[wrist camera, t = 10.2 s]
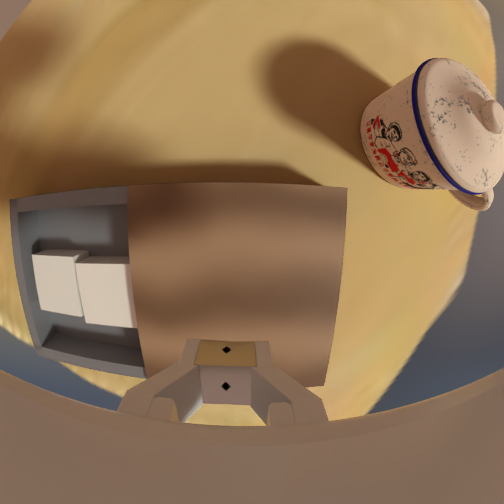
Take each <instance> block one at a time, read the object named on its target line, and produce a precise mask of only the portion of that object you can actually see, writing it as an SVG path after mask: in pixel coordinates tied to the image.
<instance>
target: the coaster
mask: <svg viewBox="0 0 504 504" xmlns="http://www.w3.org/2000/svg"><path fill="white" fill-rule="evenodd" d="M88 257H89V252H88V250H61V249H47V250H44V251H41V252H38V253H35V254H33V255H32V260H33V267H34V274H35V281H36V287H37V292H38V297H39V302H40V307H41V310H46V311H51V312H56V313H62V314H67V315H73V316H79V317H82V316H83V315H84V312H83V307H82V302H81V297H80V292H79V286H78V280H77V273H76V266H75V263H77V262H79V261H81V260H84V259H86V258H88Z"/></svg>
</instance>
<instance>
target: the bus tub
mask: <svg viewBox="0 0 504 504" xmlns="http://www.w3.org/2000/svg"><path fill="white" fill-rule="evenodd" d="M10 222H11V236H12V246H13V255H14V262H15V269H16V275H17V281H18V286H19V291H20V296H21V300H22V305H23V309H24V313H25V317H26V321H27V324H28V328H29V331H30V334H31V338H32V341H33V344H34V347H35V350H36V353H37V355H40V356H43V357H47V358H50V359H53V360H57V361H60V362H64V363H68V364H72V365H76V366H80V367H84V368H89V369H93V370H98V371H103V372H108V373H113V374H119V375H125V376H131V377H138V378H145V379H147V374H146V370H145V365H144V360H143V355H142V350H141V344H140V339H139V333H138V328H129V327H118V326H108V325H99V324H91V323H86V321H85V316H84V315H83V316H82V317H79V316H73V315H67V314H62V313H56V312H51V311H46V310H41V307H40V302H39V297H38V292H37V287H36V281H35V274H34V267H33V260H32V255H33V254H35V253H38V252H41V251H44V250H47V249H61V250H88V252H89V257H90V256H129V243H128V219H127V186H117V187H105V188H93V189H83V190H74V191H65V192H57V193H50V194H42V195H35V196H29V197H23V198H17V199H11V200H10Z"/></svg>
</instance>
